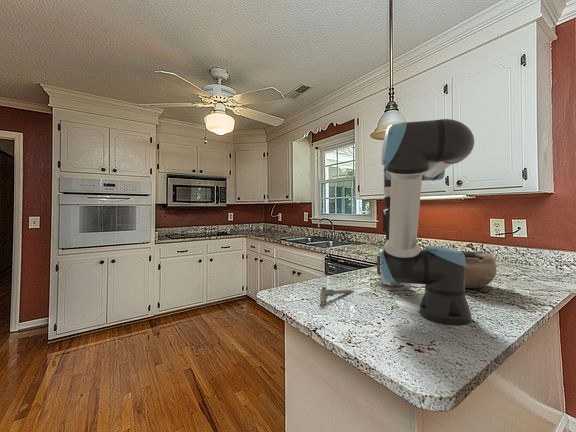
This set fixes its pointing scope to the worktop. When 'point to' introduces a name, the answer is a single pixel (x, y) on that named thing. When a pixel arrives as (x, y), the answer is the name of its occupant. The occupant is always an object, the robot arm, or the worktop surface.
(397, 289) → the trivet
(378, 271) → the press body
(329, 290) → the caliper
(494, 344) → the worktop surface
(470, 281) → the ceramic bowl
